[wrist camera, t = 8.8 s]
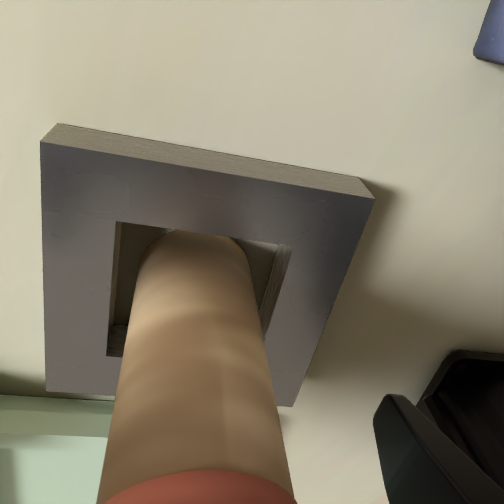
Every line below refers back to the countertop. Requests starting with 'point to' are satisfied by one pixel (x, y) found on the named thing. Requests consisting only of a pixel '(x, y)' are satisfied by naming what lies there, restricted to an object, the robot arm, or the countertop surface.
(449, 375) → the robot arm
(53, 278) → the socket
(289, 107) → the countertop surface
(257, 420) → the pin
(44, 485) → the tray
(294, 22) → the countertop surface
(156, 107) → the countertop surface
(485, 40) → the small box
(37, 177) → the countertop surface
